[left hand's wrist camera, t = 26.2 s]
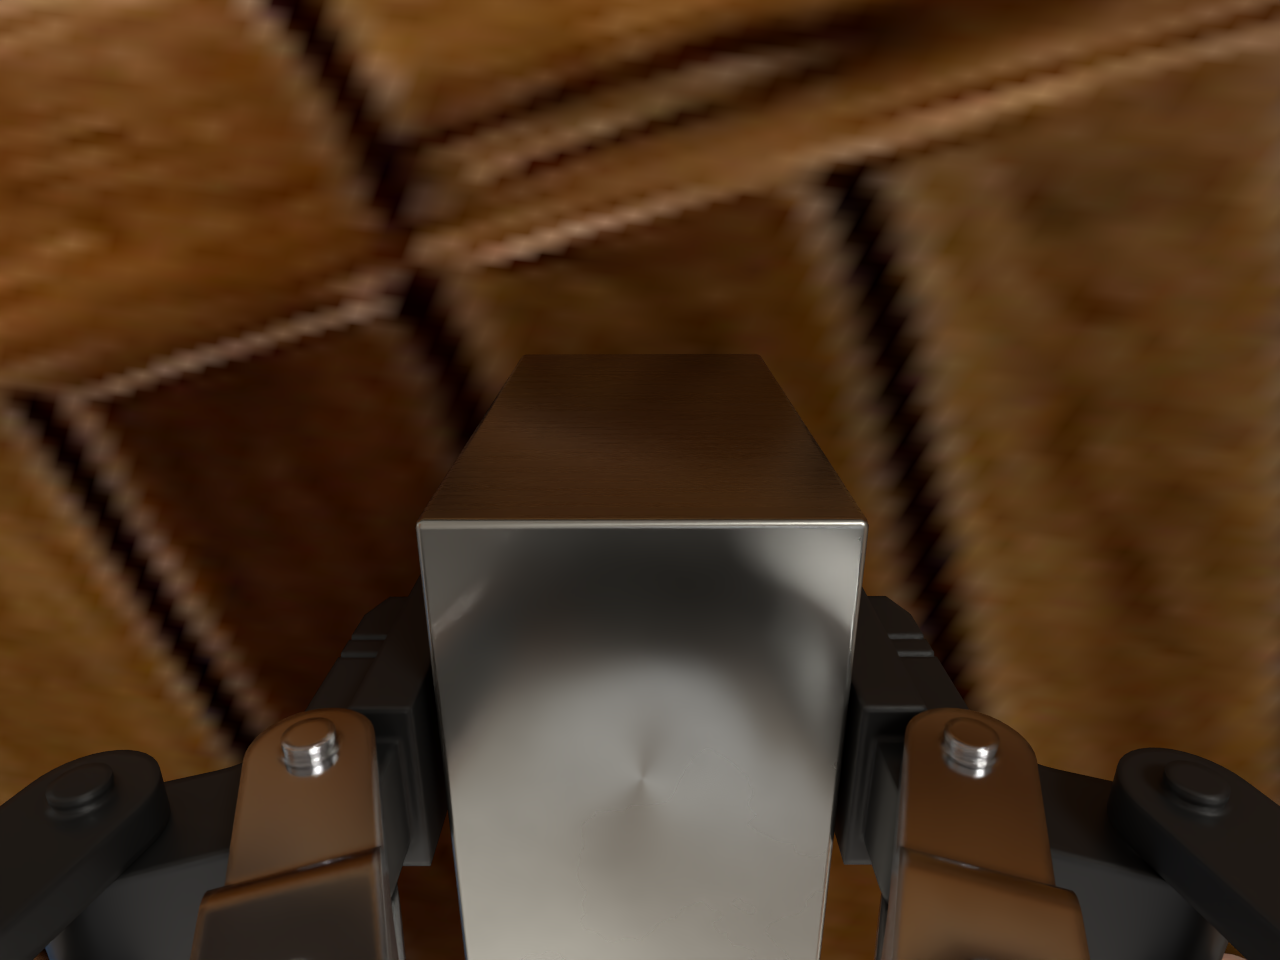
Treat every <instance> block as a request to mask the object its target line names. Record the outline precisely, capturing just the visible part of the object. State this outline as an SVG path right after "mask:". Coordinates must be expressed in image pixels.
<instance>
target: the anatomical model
mask: <svg viewBox="0 0 1280 960" xmlns="http://www.w3.org/2000/svg"><path fill="white" fill-rule="evenodd" d="M1222 960H1246V959H1244V958H1241V957H1239V956H1236V955H1233V954H1225V953H1224V955H1223V958H1222Z"/></svg>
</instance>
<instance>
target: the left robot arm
mask: <svg viewBox="0 0 1280 960" xmlns="http://www.w3.org/2000/svg"><path fill="white" fill-rule="evenodd" d="M447 810H448V806H447V797H446V788H445V780H444V771H443V762H442V754H441V745H440V736H439V727H438V719H437V710H436V701H435V693H434V684H433V675H432V667H431V658H430V649H429V640H428V632H427V623H426V614H425V606H424V597H423V588H422V579H421V574H420V576H419V578H418V580H417V582H416V584H415V585H414V587H413V589H412V591H411V593H410V595H409V596H408V597H389V598H388V599H386V600H385V601H383V602H382V603H381V604H379V605H378V606H376V607H375V608H374V609H372V610H371V611H370V612H368V613H367V614H365V615H364V617H363V619H362V620H361V622H360V624H359V625H358V627H357V628H356V630H355V632H354V633H353V635H352V640H349V641H348V643H347V644H346V646H345V648H344V649H343V651H342V652H341V658H338V659H337V661H336V662H335V664H334V665H333V667H332V669H331V670H330V672H329V673H328V675H327V677H326V678H325V680H324V681H323V683H322V685H321V686H320V688H319V690H318V691H317V693H316V694H315V696H314V698H313V699H312V701H311V702H310V704H309V706H308V707H307V709H306V710H305V712H301V713H298V714H295V715H292V716H290V717H287V718H285V719H283V720H281V721H279V722H277V723H276V724H274V725H272V726H270V727H269V728H268V729H266V730H265V731H263V732H262V733H261V734H260V735H259V736H258V737H257V738H256V739H255V740H254V741H253V742H252V743H251V745H250V746H249V747H248V749H247V751H246V753H245V756H244V759H243V763H241V764H238V765H235V766H232V767H229V768H225V769H221V770H218V771H213V772H209V773H204V774H199V775H195V776H190V777H186V778H181V779H176V780H172V781H167V782H163V778H162V774H161V771H160V767H159V765H158V763H157V761H156V760H155V759H154V758H153V757H151V756H150V755H148V754H146V753H143V752H139V751H133V750H114V751H106V752H101V753H96V754H92V755H88V756H85V757H82V758H79V759H76V760H73V761H71V762H68V763H66V764H64V765H62V766H59V767H57V768H55V769H53V770H51V771H50V772H48V773H46V774H44V775H43V776H41V777H39V778H38V779H37V780H35V781H34V782H32V783H31V784H29V785H28V786H27V787H25V788H24V789H23V790H21V791H20V792H19V793H17V794H16V795H15V796H13V797H12V798H11V799H9V800H8V801H7V802H5V803H4V804H3V805H1V806H0V960H33V959H34V958H35V957H36V956H37V955H38V954H39V953H40V952H41V951H42V950H43V949H44V948H46V951H47V954H48V956H49V959H50V960H406V957H405V946H404V935H403V925H402V914H401V906H400V899H399V892H398V885H397V880H398V877H399V874H400V872H401V869H402V866H431V863H432V859H433V856H434V853H435V849H436V846H437V843H438V839H439V836H440V833H441V830H442V826H443V823H444V820H445V816H446V813H447ZM834 832H835V835H836V838H837V842H838V845H839V849H840V852H841V855H842V859H843V862H844V864H872V866H873V869H874V872H875V875H876V878H877V881H878V884H879V887H880V890H881V899H880V906H879V914H878V925H877V935H876V946H875V957H874V960H1222V958H1223V955H1224V952H1225V950H1226V947H1227V944H1228V942H1230V943H1231V944H1232V945H1233V946H1234V947H1235V948H1236V949H1237V950H1238V951H1239V952H1240V953H1241V954H1242V955H1243V956H1244V957H1245V958H1246V959H1247V960H1280V806H1279V805H1277V804H1276V803H1275V802H1273V801H1272V800H1271V799H1269V798H1268V797H1267V796H1265V795H1264V794H1263V793H1261V792H1260V791H1259V790H1257V789H1256V788H1255V787H1253V786H1252V785H1251V784H1249V783H1248V782H1247V781H1245V780H1244V779H1242V778H1241V777H1239V776H1238V775H1236V774H1235V773H1233V772H1231V771H1230V770H1228V769H1226V768H1224V767H1222V766H1220V765H1218V764H1216V763H1214V762H1212V761H1210V760H1207V759H1204V758H1202V757H1199V756H1196V755H1193V754H1190V753H1186V752H1182V751H1178V750H1173V749H1165V748H1142V749H1137V750H1134V751H1131V752H1129V753H1127V754H1125V755H1124V756H1123V757H1122V758H1121V759H1120V761H1119V763H1118V765H1117V769H1116V773H1115V776H1114V780H1113V781H1108V780H1104V779H1099V778H1094V777H1090V776H1085V775H1081V774H1076V773H1071V772H1067V771H1062V770H1058V769H1054V768H1050V767H1046V766H1042V765H1040V764H1037V759H1036V756H1035V753H1034V751H1033V749H1032V747H1031V746H1030V745H1029V743H1028V742H1027V741H1026V740H1025V739H1024V738H1023V737H1022V736H1021V735H1020V734H1019V733H1018V732H1017V731H1015V730H1014V729H1012V728H1011V727H1010V726H1008V725H1006V724H1004V723H1003V722H1001V721H999V720H997V719H995V718H993V717H990V716H988V715H985V714H982V713H979V712H975V711H971V710H969V709H968V707H967V705H966V704H965V702H964V701H963V699H962V697H961V696H960V694H959V692H958V691H957V689H956V687H955V686H954V684H953V683H952V681H951V679H950V678H949V676H948V674H947V673H946V671H945V670H944V668H943V666H942V665H941V663H940V661H939V660H938V658H937V657H934V652H933V650H932V648H931V647H930V645H929V643H928V642H927V640H926V639H923V634H922V632H921V630H920V629H919V627H918V625H917V624H916V622H915V620H914V619H913V617H912V616H911V614H910V613H908V612H907V611H906V610H904V609H903V608H901V607H900V606H899V605H897V604H896V603H895V602H893V601H892V600H890V599H889V598H888V597H886V596H867V595H866V593H865V591H864V589H863V587H862V590H861V599H860V608H859V617H858V626H857V635H856V644H855V653H854V661H853V670H852V679H851V688H850V697H849V706H848V715H847V724H846V732H845V741H844V750H843V759H842V768H841V777H840V786H839V795H838V803H837V812H836V821H835V830H834Z"/></svg>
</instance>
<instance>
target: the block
mask: <svg viewBox="0 0 1280 960" xmlns="http://www.w3.org/2000/svg"><path fill="white" fill-rule="evenodd" d="M415 527H416V536H417V545H418V553H419V562H420V571H421V579H422V588H423V597H424V606H425V614H426V623H427V632H428V640H429V649H430V658H431V667H432V675H433V684H434V693H435V701H436V710H437V719H438V727H439V736H440V745H441V754H442V762H443V771H444V780H445V788H446V797H447V806H448V815H449V823H450V832H451V841H452V849H453V858H454V867H455V876H456V884H457V893H458V902H459V910H460V919H461V928H462V936H463V945H464V954H465V960H820V954H821V945H822V937H823V928H824V919H825V910H826V901H827V892H828V883H829V874H830V866H831V857H832V848H833V839H834V830H835V821H836V812H837V803H838V795H839V786H840V777H841V768H842V759H843V750H844V741H845V732H846V724H847V715H848V706H849V697H850V688H851V679H852V670H853V661H854V653H855V644H856V635H857V626H858V617H859V608H860V599H861V590H862V582H863V573H864V564H865V555H866V546H867V537H868V528H869V525H868V522H867V519H866V518H865V516H864V515H863V513H862V512H861V510H860V508H859V507H858V505H857V504H856V502H855V501H854V499H853V498H852V496H851V495H850V493H849V492H848V490H847V489H846V487H845V485H844V484H843V482H842V481H841V479H840V478H839V476H838V475H837V473H836V472H835V470H834V469H833V467H832V465H831V464H830V462H829V461H828V459H827V458H826V456H825V455H824V453H823V452H822V450H821V449H820V447H819V445H818V444H817V442H816V441H815V439H814V438H813V436H812V435H811V433H810V432H809V430H808V429H807V427H806V425H805V424H804V422H803V421H802V419H801V418H800V416H799V415H798V413H797V412H796V410H795V409H794V407H793V405H792V404H791V402H790V401H789V399H788V398H787V396H786V395H785V393H784V392H783V390H782V389H781V387H780V385H779V384H778V382H777V381H776V379H775V378H774V376H773V375H772V373H771V372H770V370H769V369H768V367H767V365H766V364H765V362H764V361H763V359H762V358H761V356H760V355H757V354H634V355H524V356H522V358H521V360H520V361H519V363H518V364H517V366H516V367H515V369H514V370H513V372H512V374H511V375H510V377H509V378H508V380H507V381H506V383H505V384H504V386H503V388H502V389H501V391H500V392H499V394H498V395H497V397H496V399H495V400H494V402H493V403H492V405H491V406H490V408H489V409H488V411H487V413H486V414H485V416H484V417H483V419H482V420H481V422H480V423H479V425H478V427H477V428H476V430H475V431H474V433H473V434H472V436H471V438H470V439H469V441H468V442H467V444H466V445H465V447H464V448H463V450H462V452H461V453H460V455H459V456H458V458H457V459H456V461H455V462H454V464H453V466H452V467H451V469H450V470H449V472H448V473H447V475H446V476H445V478H444V480H443V481H442V483H441V484H440V486H439V487H438V489H437V491H436V492H435V494H434V495H433V497H432V498H431V500H430V501H429V503H428V505H427V506H426V508H425V509H424V511H423V512H422V514H421V515H420V517H419V519H418V520H417V523H416V526H415Z"/></svg>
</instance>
